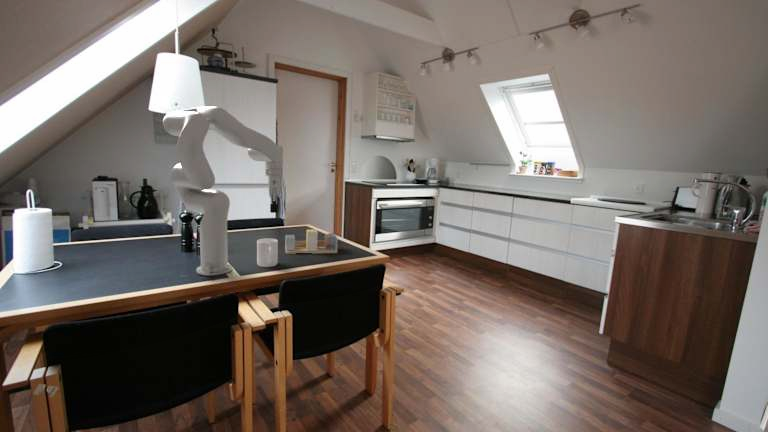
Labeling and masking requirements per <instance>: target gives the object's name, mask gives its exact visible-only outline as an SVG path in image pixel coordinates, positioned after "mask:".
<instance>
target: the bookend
mask: <svg viewBox="0 0 768 432" xmlns="http://www.w3.org/2000/svg"><path fill="white" fill-rule="evenodd" d="M284 239H285V240H284V242H285V243H284V244H285V245H284V249H285V248H286V250H295V241H296V237H295V234H285V237H284Z"/></svg>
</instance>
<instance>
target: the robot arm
mask: <svg viewBox="0 0 768 432" xmlns="http://www.w3.org/2000/svg"><path fill="white" fill-rule="evenodd" d="M162 124H163V128H164V130H165V131H166V133H168V134H169V135H171V136H174V137H178V138H177V142H176V145H175V153H176V156H177V157H176V158H177V159H178V162H179V163H176V164H175V165H174V166H173V168H172V169H171V171H170V172H171V174H170V176H171V177H170V178H171V182H172V185H173V187H174V188H175V190H176V192H177V194H178V196H179V197H180V200H181V201H182V203H183V205H184V206H185V208H187V210H189V211H191V212H193V213H199V214H203V216H202V218H201V220H200V223H199V248H200V249H199V250H200V253H199V254H200V266H198V267H196V271H195V272H196V273H197V274H198V275H201V276H220V275H224V274H228V273H230V272H232V270H233V266H232V265H231V264H229V263H228V261H229V260H228V257H229V256H228V254H229V253H228V216H229V215H228V214H229V211H230V205H231V201H230V198H229V196H228V195H227V193H225V192H224V191H222V190H218V189H214V188H213V186H214V185H215V184H216V177H215V175H214V172H213V169H212V167H211V165H210V163H209V161H208V157H206V154H205V150H204V147H203V146H204V141H205V138H206V136H207V134H208V132H209V131H214V132H216V133H217V134H219V135H220V136H222V137H223V138H224V139H226V140H227V141H228V142H229V143H232V144H233V145H235V146H238V147H241V148H246V149H248V150H247V154H248V156H249V158H250V159H252V160H253V161H257V162H265V176H267V178H268V181H267V182H268V184H267V186H268V196H269V198H270V204H269V205H270V206H269V208H270V211H269V212H270V213H272V214H274V213H276V214H277V213H278V211H279V208H278V207H279V206H278V205H279V203H278V198H279V199H280V198H282V197H281V196H282V195H281V189H282V188H281V187H282V186H281V183H282V181H281V180H282V179H281V177H283V176H284V170H283V169H284V148H283V146H282V145H279V144H277V143H276V142H275V141H274V140H273V139H271V138H269V137H268V136H266V135H265V134H262V133H260V132H259V131H256V130H254V129H252V128H249V127H248V126H246V125H244V124H243V123H242V122H241V121H239V120H238V119H237V118H236V117H235V116H233V115H232V114H231V113H229V112H228V111H227V110H226V109H224V108H222V107H219V106H198V107H191V108H188V109H180V110H174V111H170V112H167V114H166V115H165V116H164V117H163V120H162Z"/></svg>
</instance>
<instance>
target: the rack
mask: <svg viewBox="0 0 768 432" xmlns="http://www.w3.org/2000/svg"><path fill="white" fill-rule="evenodd" d="M338 240H339V239H338V237H337V235H336V234H335V233H333V232H328V233H325V234H324V240H318V244H317V251H307V248H306V240H295V250H286V248H285V247H284V250H285V255H297V254H296V253H312V254H337V253H338V244H339V243H338V242H339V241H338Z"/></svg>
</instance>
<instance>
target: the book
mask: <svg viewBox="0 0 768 432" xmlns="http://www.w3.org/2000/svg"><path fill="white" fill-rule="evenodd" d="M318 236H319V232H318V230H317V229H316V228H315V229H306V237H305V238H306V239H305V241H306V248H307V251H317V244H318V241H319V239H318V238H319V237H318Z"/></svg>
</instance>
